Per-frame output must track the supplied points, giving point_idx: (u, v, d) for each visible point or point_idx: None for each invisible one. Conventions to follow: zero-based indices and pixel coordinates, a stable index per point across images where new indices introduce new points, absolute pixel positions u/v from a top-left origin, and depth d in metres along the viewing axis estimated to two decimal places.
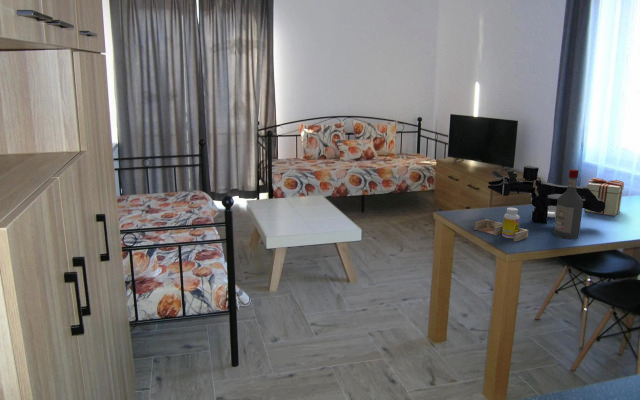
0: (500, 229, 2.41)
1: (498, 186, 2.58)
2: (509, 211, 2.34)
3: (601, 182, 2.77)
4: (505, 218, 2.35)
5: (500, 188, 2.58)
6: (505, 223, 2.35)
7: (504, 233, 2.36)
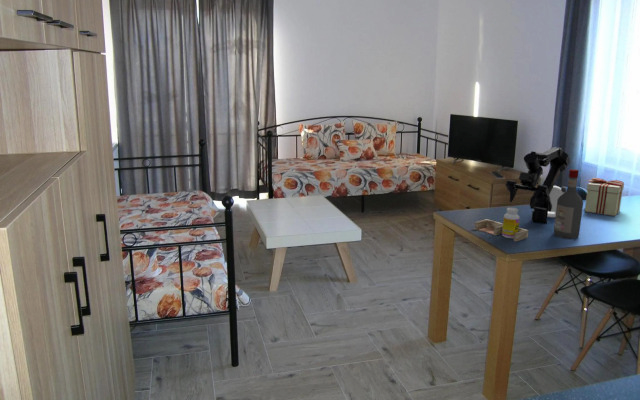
0: (500, 229, 2.41)
1: (537, 196, 2.38)
2: (509, 211, 2.34)
3: (601, 182, 2.77)
4: (505, 218, 2.35)
5: (537, 195, 2.39)
6: (505, 223, 2.35)
7: (504, 233, 2.36)
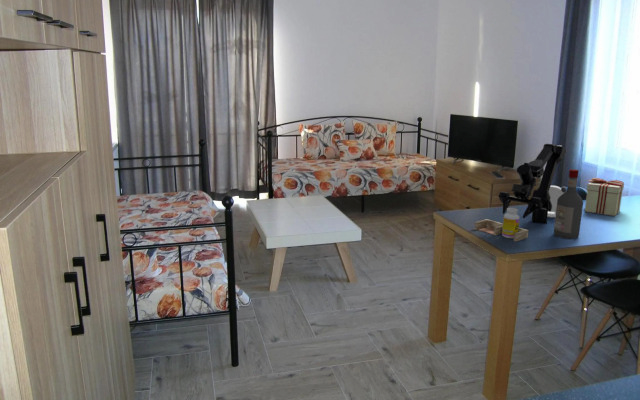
0: (500, 229, 2.41)
1: (530, 208, 2.34)
2: (509, 211, 2.34)
3: (601, 182, 2.77)
4: (505, 218, 2.35)
5: (530, 207, 2.35)
6: (505, 223, 2.35)
7: (504, 233, 2.36)
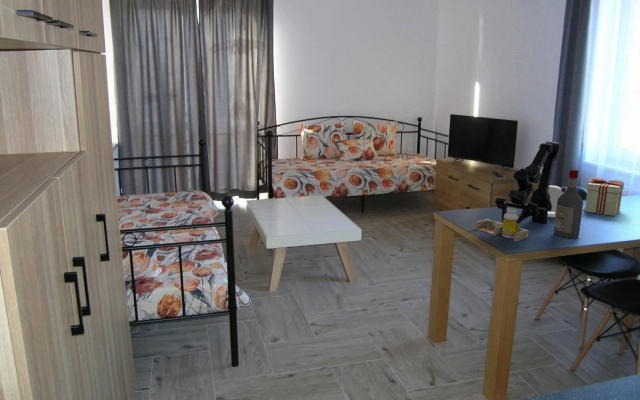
0: (500, 229, 2.41)
1: (524, 214, 2.33)
2: (509, 211, 2.34)
3: (601, 182, 2.77)
4: (505, 218, 2.35)
5: (525, 213, 2.34)
6: (505, 223, 2.35)
7: (504, 233, 2.36)
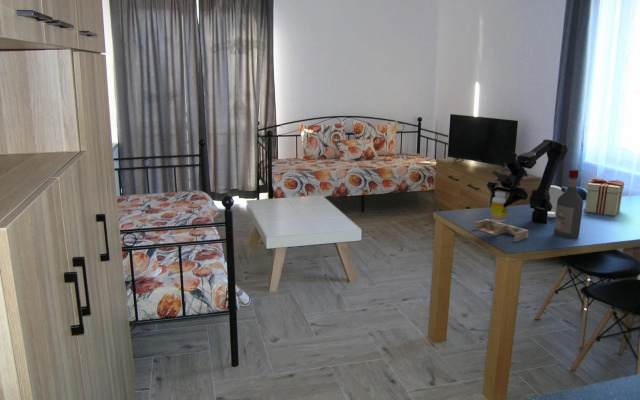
0: (500, 229, 2.41)
1: (511, 198, 2.36)
2: (496, 194, 2.37)
3: (601, 182, 2.77)
4: (492, 201, 2.39)
5: (513, 197, 2.37)
6: (492, 206, 2.39)
7: (492, 216, 2.40)
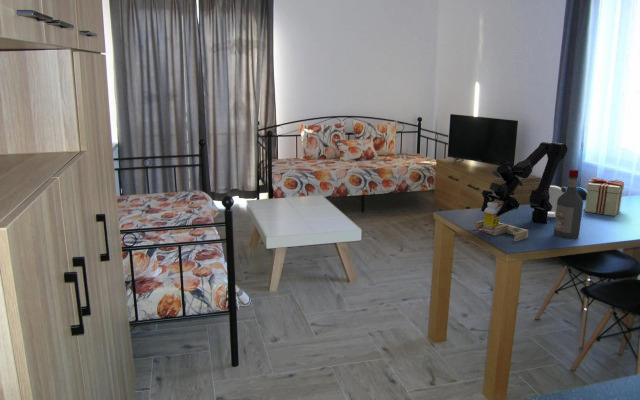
0: (500, 229, 2.41)
1: (504, 207, 2.39)
2: (488, 205, 2.42)
3: (601, 182, 2.77)
4: (485, 212, 2.44)
5: (506, 206, 2.39)
6: (484, 216, 2.44)
7: (484, 226, 2.45)
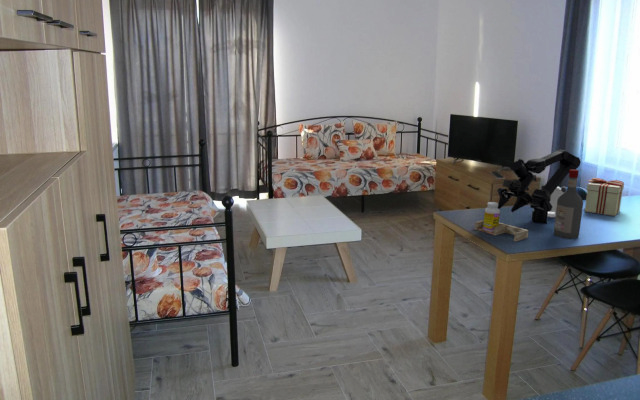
0: (500, 229, 2.41)
1: (518, 202, 2.43)
2: (488, 205, 2.42)
3: (601, 182, 2.77)
4: (485, 212, 2.44)
5: (520, 201, 2.44)
6: (484, 216, 2.44)
7: (484, 226, 2.45)
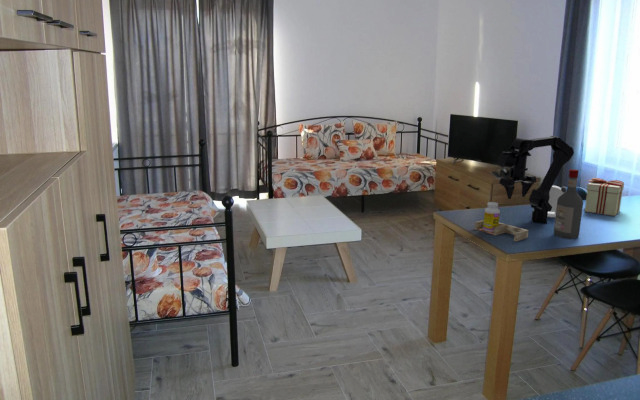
0: (500, 229, 2.41)
1: (506, 188, 2.50)
2: (488, 205, 2.42)
3: (601, 182, 2.77)
4: (485, 212, 2.44)
5: (509, 187, 2.49)
6: (484, 216, 2.44)
7: (484, 226, 2.45)
